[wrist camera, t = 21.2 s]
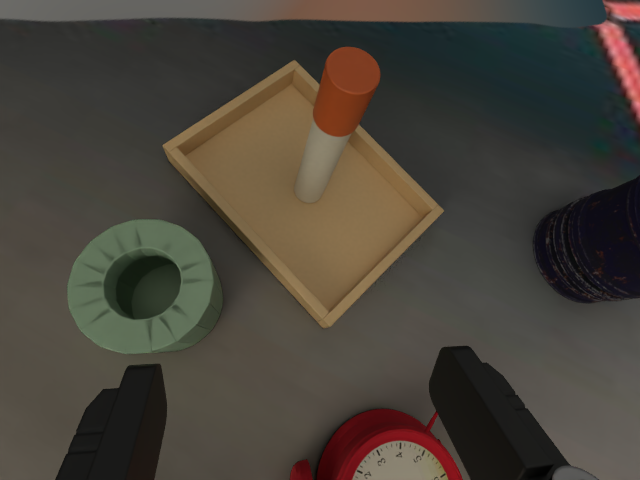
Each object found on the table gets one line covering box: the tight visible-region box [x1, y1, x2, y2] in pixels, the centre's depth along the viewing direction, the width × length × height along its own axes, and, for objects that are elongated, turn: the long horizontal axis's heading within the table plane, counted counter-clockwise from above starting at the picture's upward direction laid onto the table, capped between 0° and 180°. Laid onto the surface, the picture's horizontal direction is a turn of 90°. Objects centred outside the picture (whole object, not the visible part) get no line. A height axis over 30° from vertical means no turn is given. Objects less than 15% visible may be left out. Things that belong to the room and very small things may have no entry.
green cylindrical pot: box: [67, 219, 223, 354], centre depth 25 cm, size 8×8×8 cm
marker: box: [294, 47, 380, 203], centre depth 26 cm, size 3×3×15 cm
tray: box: [163, 60, 444, 328], centre depth 32 cm, size 20×15×3 cm
